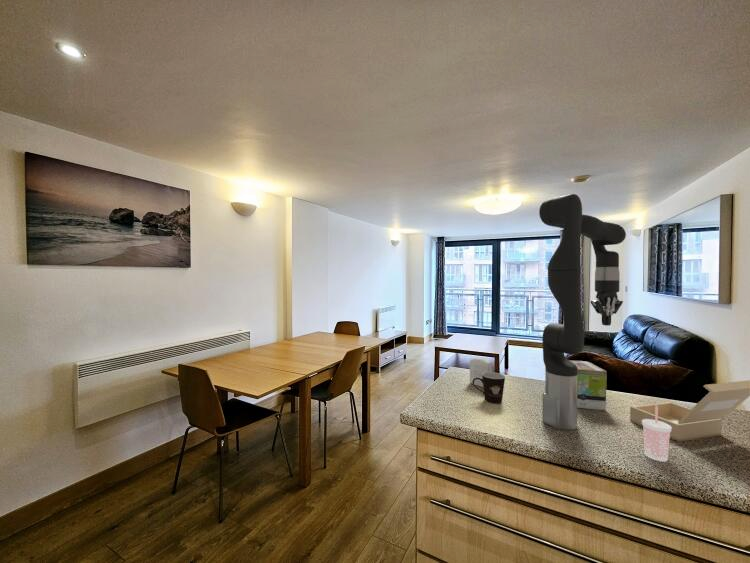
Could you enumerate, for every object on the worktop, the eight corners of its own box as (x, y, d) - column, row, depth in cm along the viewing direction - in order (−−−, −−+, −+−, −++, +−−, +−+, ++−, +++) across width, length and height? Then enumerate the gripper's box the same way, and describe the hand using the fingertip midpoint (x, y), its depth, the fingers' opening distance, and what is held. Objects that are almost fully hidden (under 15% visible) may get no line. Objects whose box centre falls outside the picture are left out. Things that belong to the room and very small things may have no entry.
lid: (671, 416, 95) (679, 424, 93) (704, 384, 88) (714, 392, 86) (715, 411, 100) (724, 418, 98) (750, 380, 92) (760, 387, 90)
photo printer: (493, 387, 140) (493, 359, 140) (487, 389, 138) (487, 361, 137) (474, 381, 148) (474, 355, 148) (468, 383, 146) (468, 356, 146)
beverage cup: (647, 460, 84) (647, 408, 84) (637, 448, 90) (638, 399, 90) (676, 465, 82) (676, 411, 82) (664, 453, 88) (665, 403, 88)
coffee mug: (506, 399, 127) (507, 374, 126) (502, 406, 119) (502, 380, 119) (477, 393, 133) (477, 369, 133) (471, 400, 125) (471, 375, 125)
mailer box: (677, 441, 94) (678, 425, 94) (630, 421, 108) (630, 406, 107) (721, 435, 98) (721, 419, 98) (670, 416, 112) (670, 401, 112)
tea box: (607, 410, 116) (607, 370, 116) (577, 408, 118) (577, 369, 118) (588, 396, 131) (588, 360, 131) (561, 394, 133) (562, 359, 133)
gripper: (602, 279, 114) (601, 327, 114) (630, 279, 117) (630, 326, 117) (583, 279, 121) (583, 324, 121) (611, 279, 124) (610, 323, 124)
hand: (606, 325), depth 119 cm, fingers closed
